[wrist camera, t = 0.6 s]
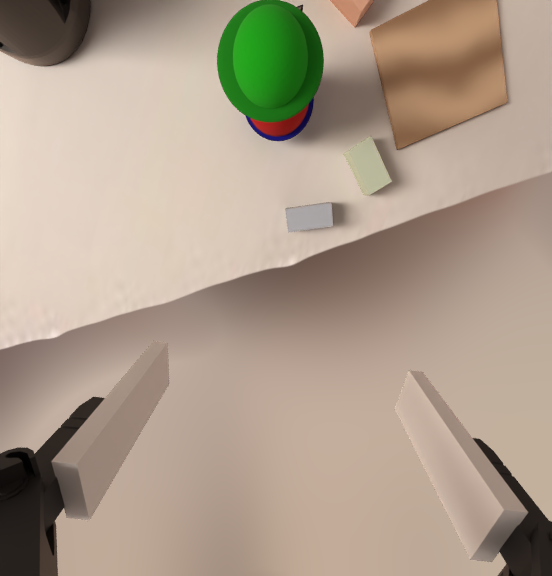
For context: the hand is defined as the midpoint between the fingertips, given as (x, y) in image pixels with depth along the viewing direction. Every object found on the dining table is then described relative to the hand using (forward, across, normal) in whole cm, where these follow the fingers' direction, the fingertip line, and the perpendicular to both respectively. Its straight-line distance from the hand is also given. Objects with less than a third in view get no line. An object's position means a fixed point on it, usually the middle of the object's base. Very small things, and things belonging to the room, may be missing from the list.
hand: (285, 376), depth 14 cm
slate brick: (+27, +2, +6) cm, 28 cm away
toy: (+27, -3, +19) cm, 33 cm away
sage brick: (+27, +9, +13) cm, 32 cm away
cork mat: (+27, +15, +25) cm, 40 cm away
